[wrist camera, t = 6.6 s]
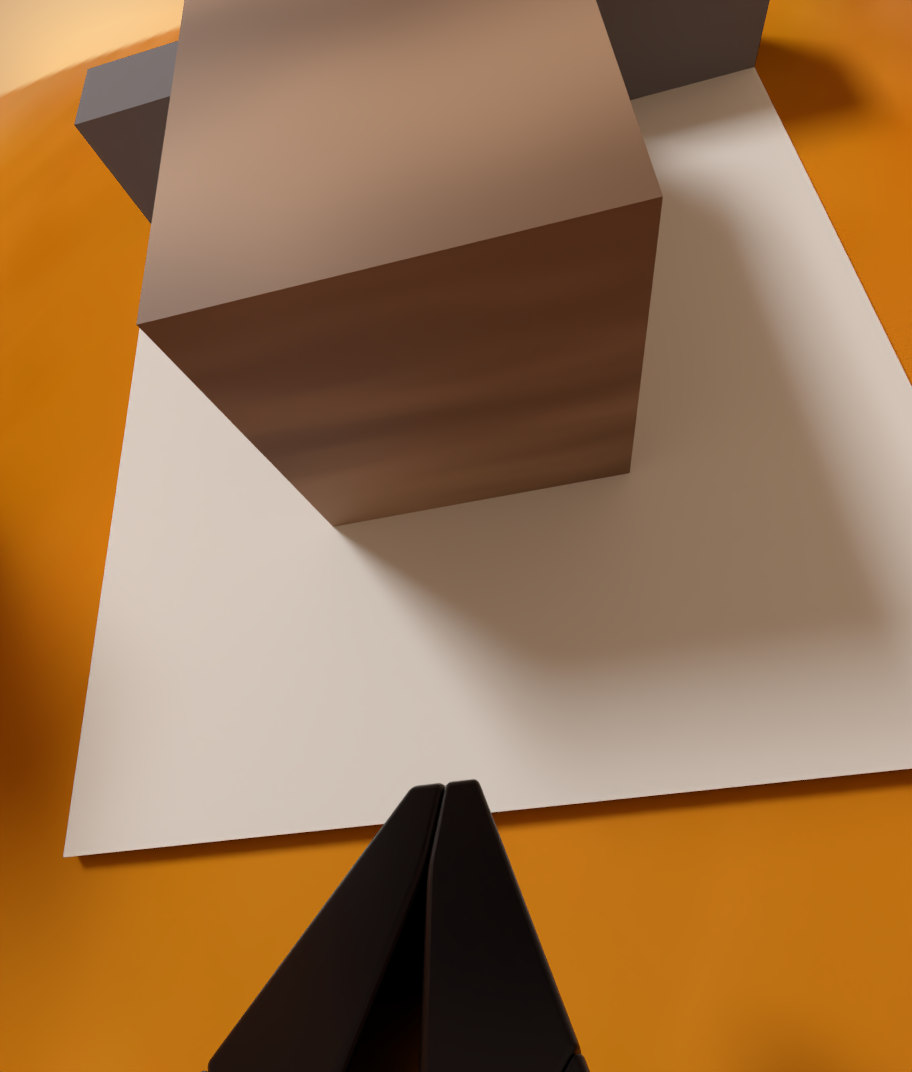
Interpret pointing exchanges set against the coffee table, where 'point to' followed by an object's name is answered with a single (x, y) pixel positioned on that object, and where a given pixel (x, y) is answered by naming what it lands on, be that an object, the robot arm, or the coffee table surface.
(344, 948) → the robot arm
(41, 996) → the coffee table surface
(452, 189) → the walnut slab
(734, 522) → the white board
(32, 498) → the coffee table surface
